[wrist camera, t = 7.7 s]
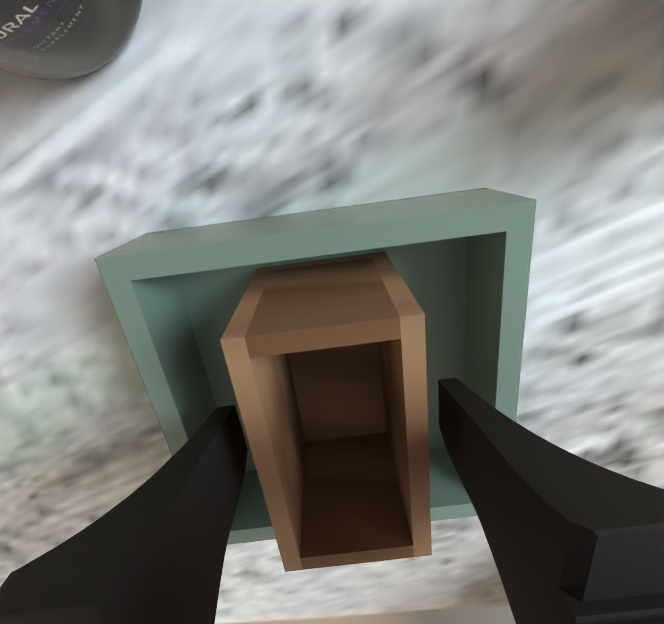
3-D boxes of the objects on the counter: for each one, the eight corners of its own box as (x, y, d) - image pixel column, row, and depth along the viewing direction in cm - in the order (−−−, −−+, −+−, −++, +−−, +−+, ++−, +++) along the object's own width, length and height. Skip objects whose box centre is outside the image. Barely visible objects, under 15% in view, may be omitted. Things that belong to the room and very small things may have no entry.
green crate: (472, 444, 20) (507, 512, 16) (228, 473, 20) (208, 546, 16) (480, 186, 14) (536, 200, 11) (150, 231, 15) (94, 258, 11)
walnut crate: (397, 431, 18) (431, 555, 13) (295, 443, 18) (285, 571, 13) (384, 251, 14) (424, 314, 9) (257, 268, 15) (219, 339, 9)
